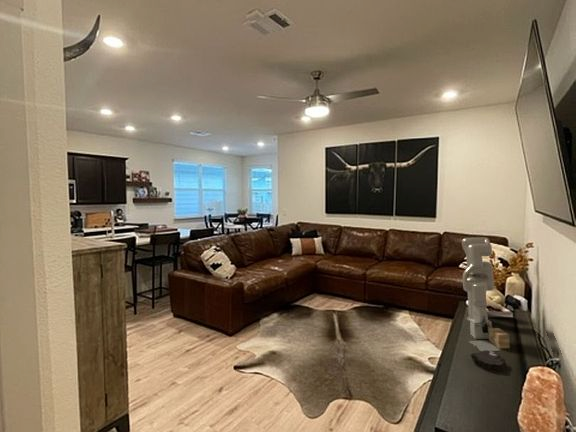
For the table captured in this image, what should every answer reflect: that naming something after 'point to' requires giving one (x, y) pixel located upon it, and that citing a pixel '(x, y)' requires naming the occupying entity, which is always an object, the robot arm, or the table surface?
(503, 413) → the table surface
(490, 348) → the grey mat
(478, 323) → the light bulb box
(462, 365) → the table surface
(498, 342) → the tan block
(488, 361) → the rock sample
